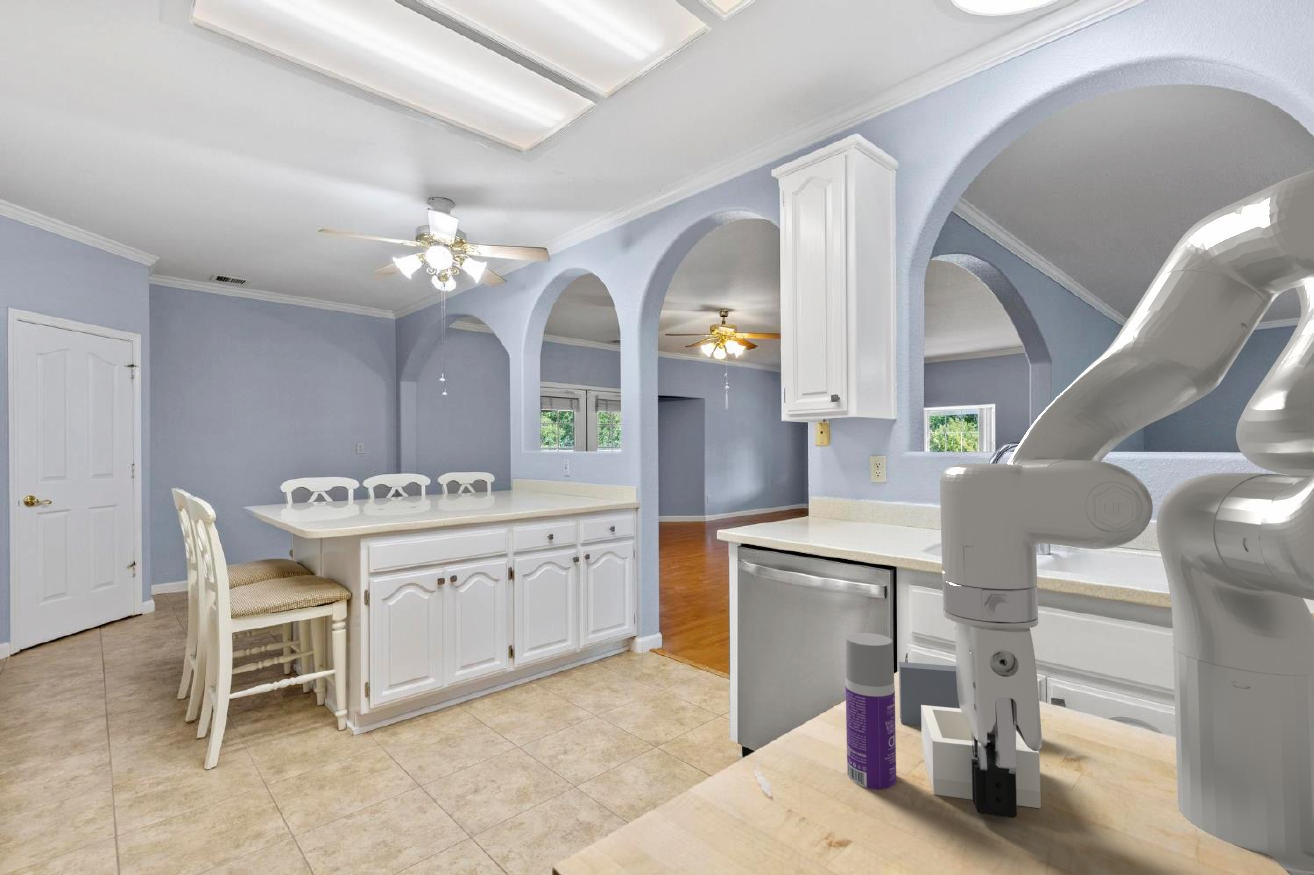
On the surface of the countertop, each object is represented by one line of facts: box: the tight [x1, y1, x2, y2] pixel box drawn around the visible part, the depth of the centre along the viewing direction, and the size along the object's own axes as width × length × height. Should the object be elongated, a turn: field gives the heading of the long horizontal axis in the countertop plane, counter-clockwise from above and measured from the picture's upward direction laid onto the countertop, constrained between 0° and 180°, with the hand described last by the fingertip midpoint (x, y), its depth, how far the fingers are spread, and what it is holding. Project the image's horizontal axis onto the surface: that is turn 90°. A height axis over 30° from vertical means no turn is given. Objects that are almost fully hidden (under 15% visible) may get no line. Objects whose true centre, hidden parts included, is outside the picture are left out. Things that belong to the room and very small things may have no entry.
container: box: [845, 632, 897, 790], centre depth 64 cm, size 5×5×15 cm
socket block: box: [921, 705, 1042, 809], centre depth 63 cm, size 9×9×5 cm
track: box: [898, 661, 960, 727], centre depth 67 cm, size 12×19×8 cm, turn 164°
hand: (994, 810), depth 56 cm, fingers closed
